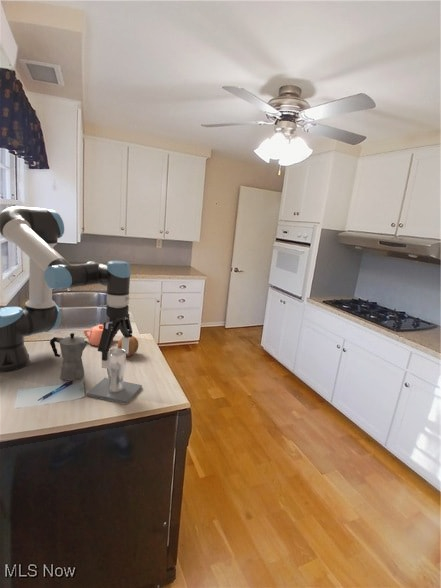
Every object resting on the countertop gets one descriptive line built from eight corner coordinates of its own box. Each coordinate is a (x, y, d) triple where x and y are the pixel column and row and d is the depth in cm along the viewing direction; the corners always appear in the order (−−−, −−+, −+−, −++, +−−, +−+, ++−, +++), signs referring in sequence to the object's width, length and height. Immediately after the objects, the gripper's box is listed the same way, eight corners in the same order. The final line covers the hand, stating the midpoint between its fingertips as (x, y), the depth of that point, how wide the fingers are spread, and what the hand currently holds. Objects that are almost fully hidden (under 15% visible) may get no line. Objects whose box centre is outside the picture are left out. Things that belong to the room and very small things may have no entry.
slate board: (86, 395, 111) (86, 392, 111) (104, 380, 123) (104, 377, 122) (127, 404, 108) (127, 401, 108) (141, 387, 120) (141, 385, 120)
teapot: (82, 339, 159) (82, 322, 157) (117, 336, 169) (117, 320, 167) (85, 348, 149) (85, 330, 147) (122, 344, 159) (123, 327, 157)
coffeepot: (93, 371, 129) (93, 331, 125) (83, 382, 120) (83, 339, 116) (57, 367, 129) (56, 327, 125) (44, 378, 119) (42, 335, 116)
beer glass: (103, 386, 116) (103, 350, 112) (120, 382, 120) (122, 346, 117) (109, 395, 111) (110, 357, 107) (128, 390, 115) (129, 353, 112)
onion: (125, 349, 153) (126, 330, 151) (142, 353, 150) (143, 334, 148) (112, 356, 144) (113, 336, 142) (130, 361, 141) (131, 340, 139)
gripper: (108, 315, 95) (106, 377, 100) (142, 298, 119) (140, 349, 124) (86, 312, 97) (86, 373, 101) (125, 296, 121) (123, 346, 125)
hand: (115, 360), depth 113 cm, fingers open, 13 cm apart
